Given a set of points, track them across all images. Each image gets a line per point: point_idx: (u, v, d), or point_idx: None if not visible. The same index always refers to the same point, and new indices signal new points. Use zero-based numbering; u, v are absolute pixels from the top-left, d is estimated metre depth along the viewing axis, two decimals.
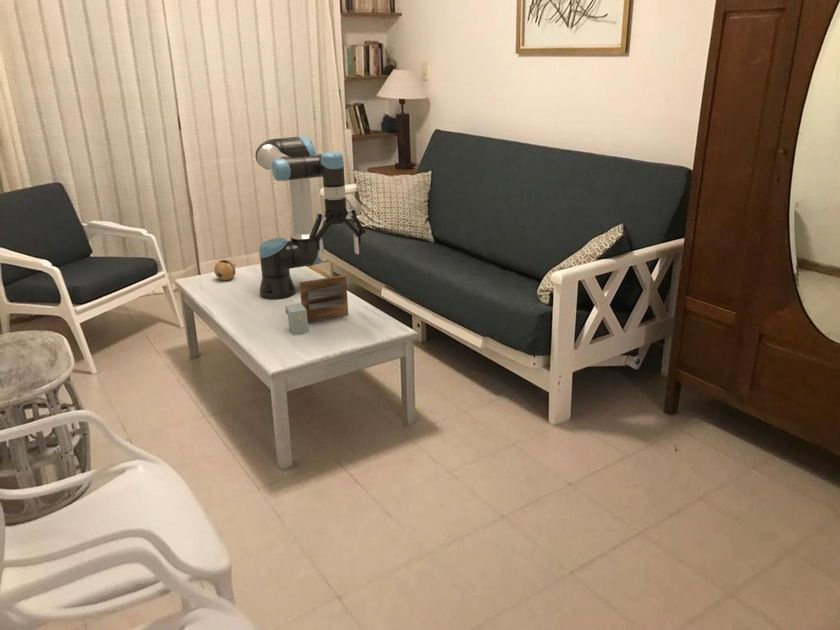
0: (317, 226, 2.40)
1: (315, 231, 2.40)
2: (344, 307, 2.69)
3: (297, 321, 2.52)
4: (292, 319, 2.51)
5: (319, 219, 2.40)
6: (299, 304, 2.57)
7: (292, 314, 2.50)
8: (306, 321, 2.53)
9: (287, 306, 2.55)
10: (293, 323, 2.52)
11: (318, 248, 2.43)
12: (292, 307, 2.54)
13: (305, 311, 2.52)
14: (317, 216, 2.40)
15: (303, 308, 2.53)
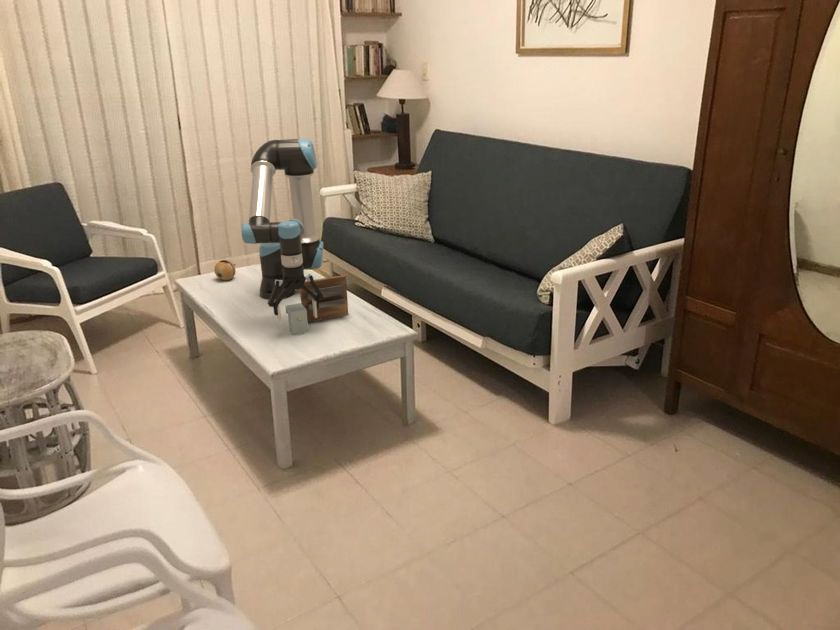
0: (275, 293, 2.46)
1: (273, 297, 2.46)
2: (344, 307, 2.69)
3: (297, 321, 2.52)
4: (292, 319, 2.51)
5: (277, 286, 2.45)
6: (299, 304, 2.57)
7: (292, 314, 2.50)
8: (306, 321, 2.53)
9: (287, 306, 2.55)
10: (293, 323, 2.52)
11: (276, 313, 2.49)
12: (292, 307, 2.54)
13: (305, 311, 2.52)
14: (275, 283, 2.46)
15: (303, 308, 2.53)
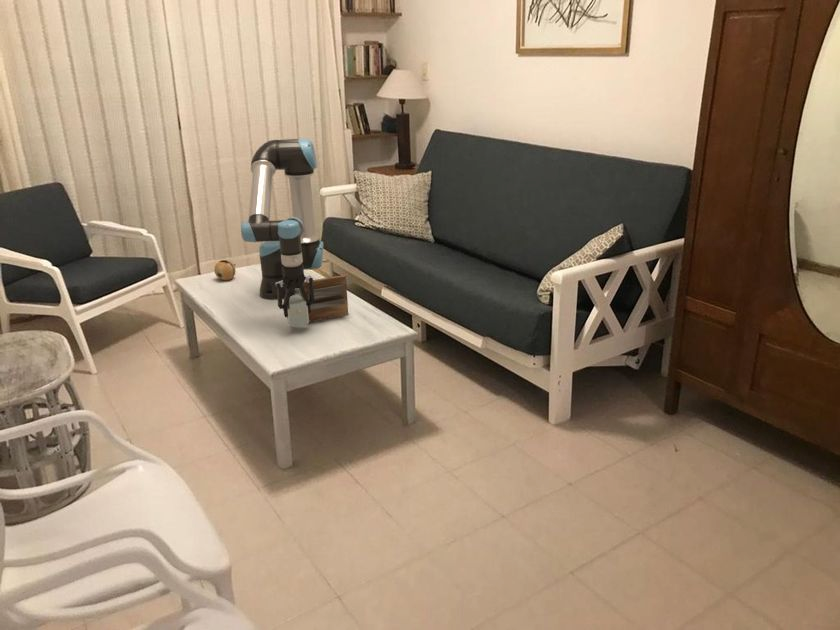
0: (280, 295, 2.47)
1: (280, 300, 2.48)
2: (344, 307, 2.69)
3: (296, 313, 2.51)
4: (291, 311, 2.50)
5: (279, 288, 2.46)
6: (299, 296, 2.57)
7: (291, 306, 2.50)
8: (305, 313, 2.53)
9: None
10: (292, 315, 2.51)
11: (286, 315, 2.52)
12: (291, 299, 2.54)
13: (304, 303, 2.51)
14: (276, 286, 2.47)
15: (302, 300, 2.52)
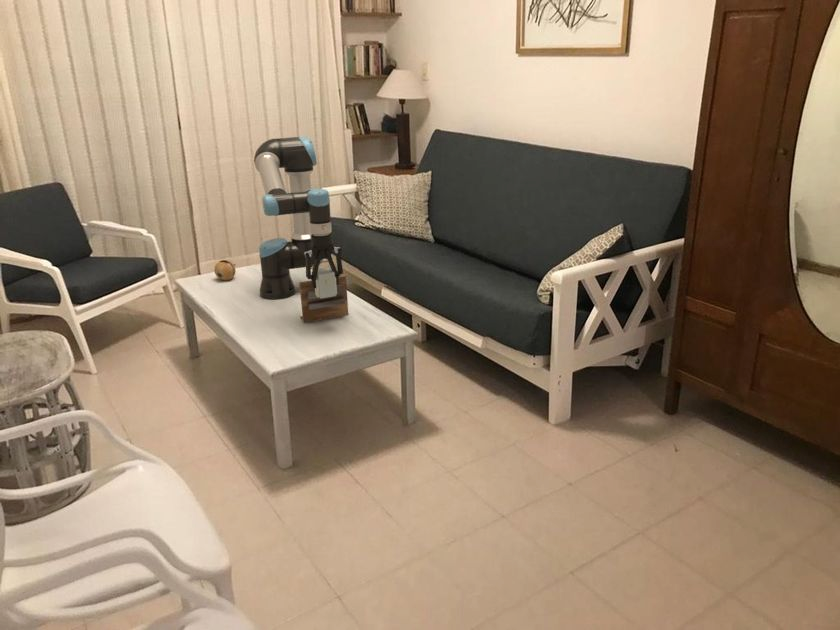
0: (308, 265, 2.46)
1: (309, 270, 2.46)
2: (344, 307, 2.69)
3: (325, 284, 2.49)
4: (320, 282, 2.48)
5: (308, 258, 2.45)
6: (327, 268, 2.55)
7: (320, 277, 2.48)
8: (334, 284, 2.51)
9: None
10: (321, 286, 2.49)
11: (315, 286, 2.50)
12: (320, 270, 2.52)
13: (333, 274, 2.49)
14: (305, 255, 2.45)
15: (331, 271, 2.50)
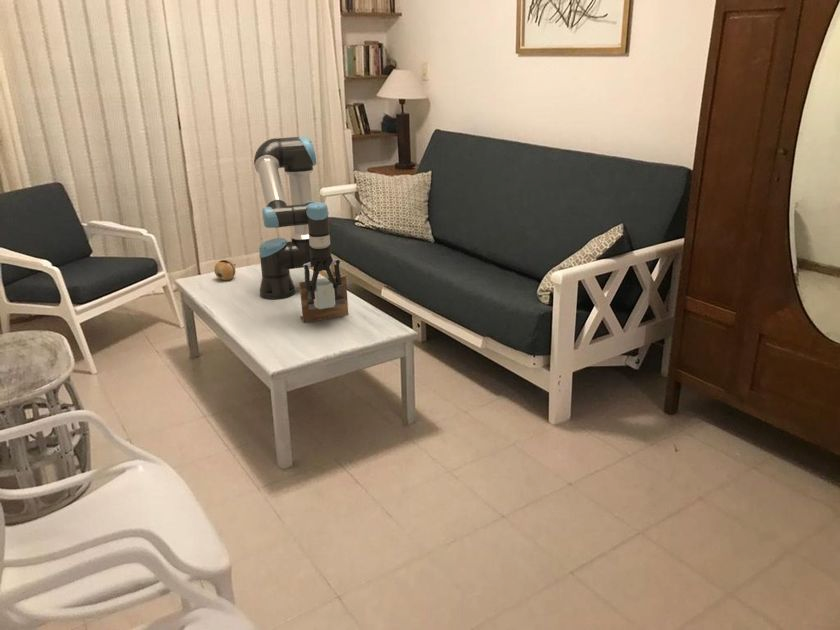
0: (307, 276, 2.50)
1: (307, 281, 2.51)
2: (344, 307, 2.69)
3: (323, 295, 2.54)
4: (319, 293, 2.53)
5: (307, 270, 2.49)
6: (325, 279, 2.59)
7: (319, 288, 2.52)
8: (332, 295, 2.56)
9: None
10: (319, 297, 2.54)
11: (313, 297, 2.55)
12: (318, 282, 2.57)
13: (331, 285, 2.54)
14: (304, 267, 2.50)
15: (329, 282, 2.55)
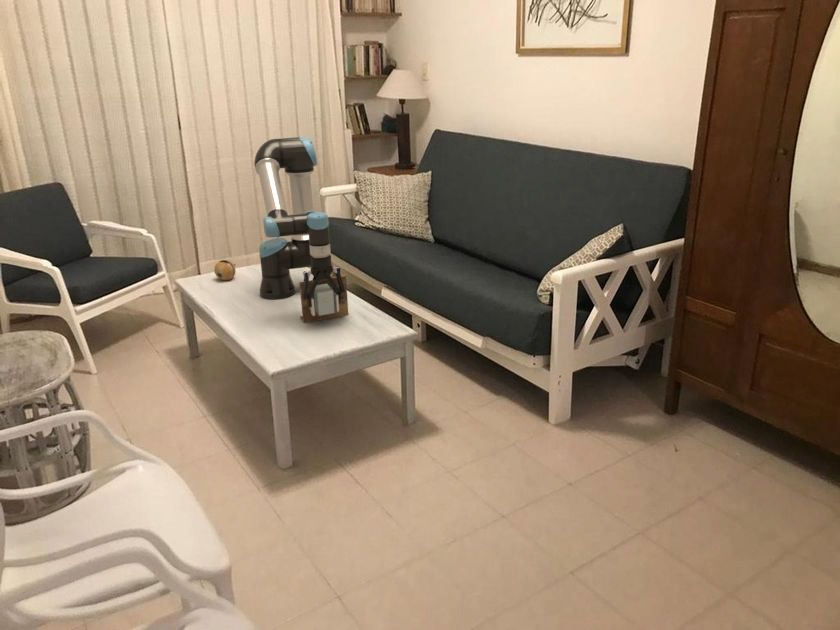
0: (306, 284, 2.51)
1: (305, 289, 2.52)
2: (344, 307, 2.69)
3: (324, 302, 2.55)
4: (319, 300, 2.54)
5: (306, 278, 2.51)
6: (325, 284, 2.60)
7: (319, 295, 2.53)
8: (332, 302, 2.57)
9: None
10: (320, 304, 2.55)
11: (310, 305, 2.55)
12: (319, 288, 2.57)
13: (332, 292, 2.55)
14: (304, 275, 2.51)
15: (330, 289, 2.56)
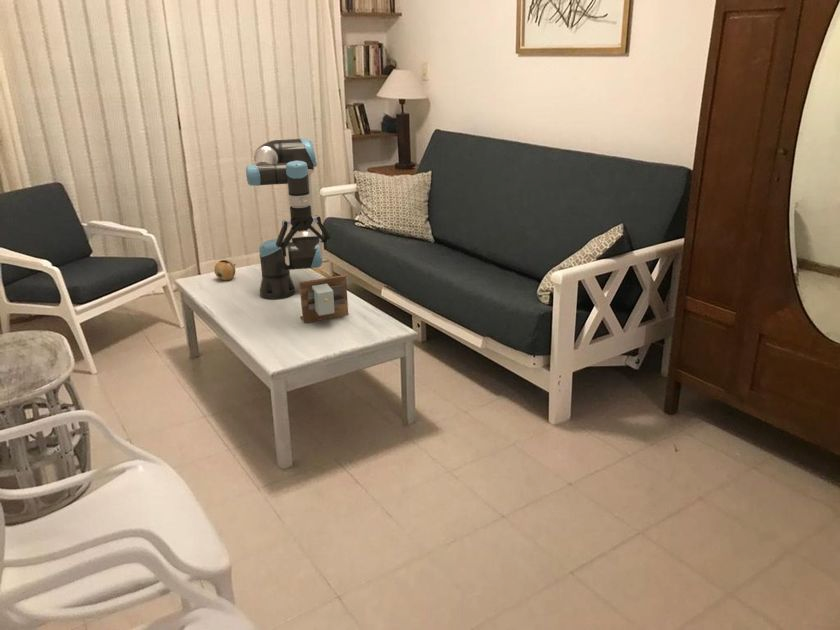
0: (283, 233, 2.47)
1: (281, 238, 2.47)
2: (344, 307, 2.69)
3: (324, 302, 2.55)
4: (319, 300, 2.54)
5: (285, 226, 2.46)
6: (325, 284, 2.60)
7: (319, 295, 2.53)
8: (332, 302, 2.57)
9: (314, 286, 2.58)
10: (320, 304, 2.55)
11: (284, 254, 2.50)
12: (319, 288, 2.57)
13: (332, 292, 2.55)
14: (283, 223, 2.47)
15: (330, 289, 2.56)
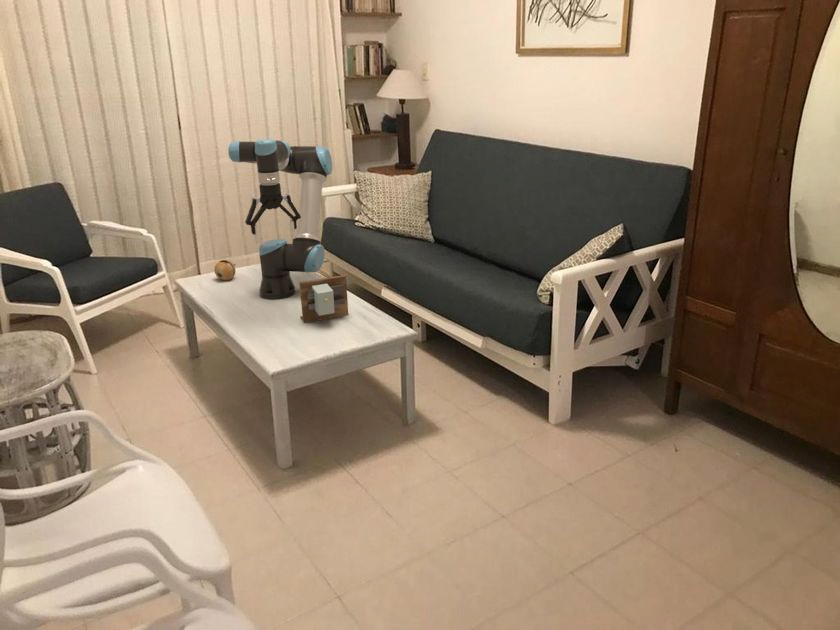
0: (252, 211, 2.48)
1: (250, 216, 2.48)
2: (344, 307, 2.69)
3: (324, 302, 2.55)
4: (319, 300, 2.54)
5: (254, 204, 2.47)
6: (325, 284, 2.60)
7: (319, 295, 2.53)
8: (332, 302, 2.57)
9: (314, 286, 2.58)
10: (320, 304, 2.55)
11: (254, 232, 2.51)
12: (319, 288, 2.57)
13: (332, 292, 2.55)
14: (252, 201, 2.48)
15: (330, 289, 2.56)
